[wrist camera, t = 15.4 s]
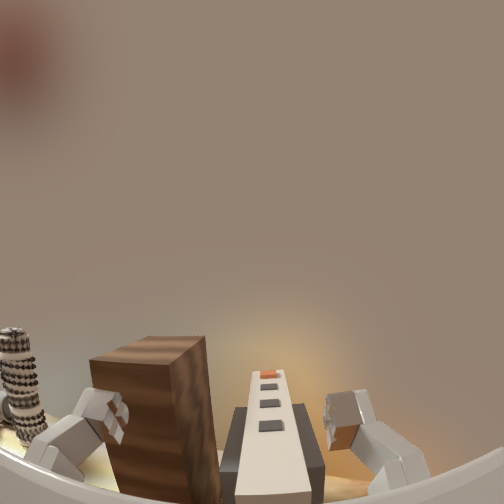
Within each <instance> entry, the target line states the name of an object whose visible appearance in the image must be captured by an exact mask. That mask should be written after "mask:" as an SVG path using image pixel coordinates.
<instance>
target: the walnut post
mask: <svg viewBox="0 0 504 504" xmlns="http://www.w3.org/2000/svg"><path fill="white" fill-rule="evenodd" d="M89 362H90V370H91V377H92V383H93V388H95V389H100V390H106V391H112V392H118V393H120V395H121V397H122V400H121V401H122V402H123V403H125V404H126V406H127V408H128V411H129V419H128V423H127V425H126V426H125V427H123V428H122V429H123V432H124V435H123V438H122V440H121V443H120V445H116V444H111V443H105V444H106V448H107V452H108V455H109V459H110V463H111V466H112V469H113V472H114V476H115V479H116V482H117V485H118V488H119V491H120V493H122V494H126V495H131V496H135V497H140V498H145V499H151V500H156V501H162V502H169V503H176V504H219V502H220V497H221V493H222V491H221V485H220V478H219V463H218V455H217V448H216V440H215V432H214V424H213V415H212V405H211V396H210V386H209V376H208V366H207V353H206V342H205V336H148V337H146V338H143V339H141V340H138V341H136V342H133V343H131V344H128V345H126V346H123V347H121V348H118V349H116V350H113V351H111V352H108V353H105V354H103V355H100V356H97V357H95V358H92V359H90V360H89Z"/></svg>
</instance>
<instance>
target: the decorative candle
mask: <svg viewBox="0 0 504 504" xmlns="http://www.w3.org/2000/svg"><path fill="white" fill-rule="evenodd" d="M0 359H1V360H0V372H2V373H1V374H0V375H1V379H2V380H3V381H4V382H3V387H4V388H5V389H4V390H5V393H6V394H7V395H8V400H9V407H10V415H11V416H12V422H13V423H14V430H15V431H16V436H17V437H18V441H19V443H20V444H22V445H23V446H27V447H29V446H30V444H31V442H32V440H33V438H34V437H36V436H37V435H39V434H40V433H42V432H43V431H45V430H46V429H47V428H48V425H47V423H46V422H45V420H46V418H45V416H44V415H43V414H44V410H43V409H42V407H41V403H40V401H39V396H38V392H39V388H38V387H37V386H36V385H37V384H38V381H37V380H35V378H36V377H37V374H35V373H34V372H33V369H34V368H36V365H34V364H33V363H32V362H33V361H35V358H34V357H33V356H32V353H31V350H30V343H29V335H27V333H26V332H25V330H24V329H22V328H2V329H0ZM2 369H3V370H2Z"/></svg>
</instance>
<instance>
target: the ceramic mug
mask: <svg viewBox="0 0 504 504" xmlns="http://www.w3.org/2000/svg"><path fill="white" fill-rule="evenodd" d="M3 420H5V421H7V422H9V423H13V422H12V416H11V415H10V407H9V400H8V395H7V394H6V393H5V392H4V391H0V423H1V422H2V421H3Z"/></svg>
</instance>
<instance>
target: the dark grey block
mask: <svg viewBox="0 0 504 504" xmlns="http://www.w3.org/2000/svg"><path fill="white" fill-rule="evenodd" d="M247 409H248V407H236V408H235V411H234V415H233V419H232V422H231V426H230V430H229V434H228V438H227V442H226V446H225V449H224V453H223V457H222V461H221V464H220V468H219V478H220V485H221V491H222V498H223V504H236V502H235V489H236V483H237V477H238V470H239V463H240V457H241V450H242V443H243V437H244V430H245V423H246V416H247ZM292 409H293V413H294V417H295V421H296V426H297V430H298V434H299V439H300V443H301V447H302V451H303V456H304V460H305V464H306V469H307V473H308V477H309V482H310V486H311V490H312V494H311V504H323V498H324V481H325V464H324V461H323V458H322V455H321V452H320V449H319V446H318V443H317V440H316V437H315V434H314V431H313V429H312V425H311V422H310V419H309V416H308V413H307V411H306V408H305V405H304V404H292Z"/></svg>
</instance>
